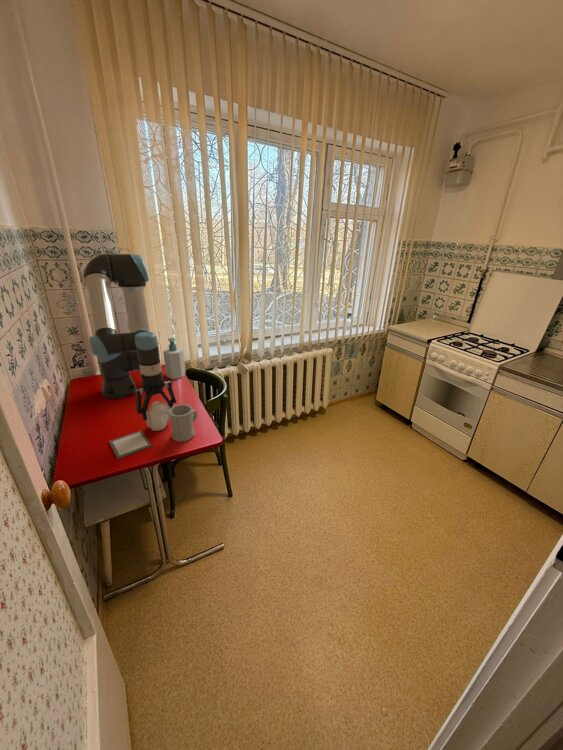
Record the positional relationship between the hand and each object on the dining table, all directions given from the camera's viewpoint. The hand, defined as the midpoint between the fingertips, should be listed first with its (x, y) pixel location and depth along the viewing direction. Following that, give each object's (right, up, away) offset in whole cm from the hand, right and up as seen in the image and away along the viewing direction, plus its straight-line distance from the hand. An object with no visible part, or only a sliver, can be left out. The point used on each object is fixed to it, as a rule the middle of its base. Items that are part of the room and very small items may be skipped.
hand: (159, 421), depth 125 cm
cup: (+11, -5, -3) cm, 13 cm away
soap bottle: (-9, +19, +46) cm, 51 cm away
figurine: (0, -2, +1) cm, 3 cm away
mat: (-7, -7, -10) cm, 14 cm away
